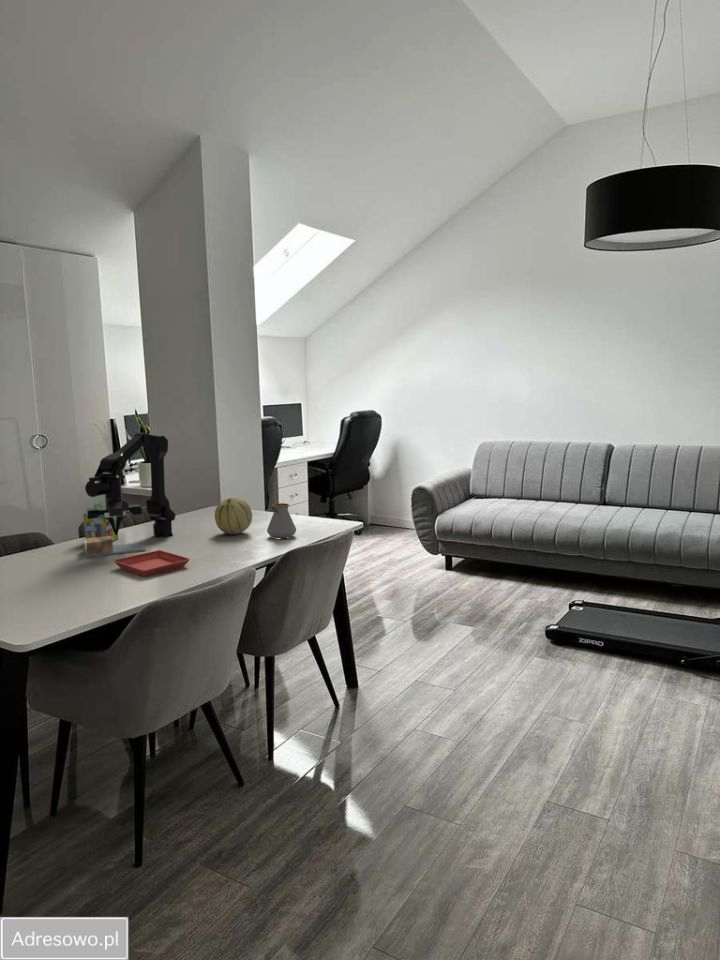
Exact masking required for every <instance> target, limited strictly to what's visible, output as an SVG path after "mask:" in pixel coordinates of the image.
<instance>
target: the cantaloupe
mask: <svg viewBox="0 0 720 960" xmlns="http://www.w3.org/2000/svg"><path fill="white" fill-rule="evenodd" d="M214 520H215V521H214V522H215V524H216V526H217V528H218V529H219V530H220V531H221V532H222V533H225V534H228V535H239V534H241V533H244V532H245V531H246V530H248V529H249V527H250V525H251V523H252V521H253V513H252V508H251V507H250V505H249V503H248V502H246V500H243V499H242V498H239V497H229V498H226V499H224V500H222V501H221V502H220V503H219V504H218V505H217V506H216V508H215V511H214Z"/></svg>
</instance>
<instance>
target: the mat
mask: <svg viewBox="0 0 720 960" xmlns="http://www.w3.org/2000/svg"><path fill="white" fill-rule="evenodd" d="M83 549H85V547H84V548H83ZM84 552H85V555H86V558H91V557H93V556H94V557H100V556H101V557H102V556H103V555H104V556H112V555H120V553H122V554H128V553H129V552H132V553H137V552H138V553H140V552H146V547H145V546H144V544H143V543H142V542H131V543H119V544H113V552H104V553H94V554H86V551H85V550H84ZM129 554H130V553H129ZM104 556H103V557H104Z"/></svg>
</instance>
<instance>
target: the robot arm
mask: <svg viewBox="0 0 720 960" xmlns="http://www.w3.org/2000/svg"><path fill="white" fill-rule="evenodd" d="M143 447H144V448H145V452H146V455H148V457H149V458H150V482H151V483H150V485H151V486H150V487H151V495H150V497H149V499H146V501H145V503H146V509H145V510H146V513H147V515H148V516H149V519H150V521H153V523H152V534H153V535H154V536H155V537H156V538H162V537H163V536H164V537H173V535H174V534H173V529H172V528H173V526H172V522H173V521H174V520H175V519H176V513H175V512H174V511H173V510H172V509H171V505H170V501H169V499H168V497H167V496H166V491H165V490H166V489H165V487H166V485H165V457H166V455H167V453H168V449H169V440H168V438H167V437H166V436H164V435H153V434H150V433H147V432H137V433H135V434H134V435H133V437H132V438H130V439H129V440H128V441H127V442H126V443H125V444H124V445H123V446H121V447H120V448H119V449H118V450H117V451H115V452H113V453H110V454H107V455H106V456H105V457H103V458H101V460H100V462H99V464H98V468H97V469H96V472H95V473H94V475H93V476H92V477H88V481H87V482H86V484H85V487H84V490H85V492H86V495H87V496H89V497H90V498H95V497H98V496H103V495H104V499H105V502H104V503H105V509H103V510H100V509H99V508H98V507H97V508H95V507H90V508H89V507H88V508H87V509H86V513H87V518H88V519H92V518H98V517H99V515H104V519H108V521H109V522H110V524H111V526H112V529H113V531H114V533H115V535H117V534H118V535H119V529H120V526H121V523H122V521H123V519H125V518H127V515H126V514H127V513H128V514H132V515H135V516H136V515H142V514H143V507H142V506H141V505H140V504H138V503H136V504H129V501H128V500H124V501H123V495H122V494H123V493H122V479H123V480H124V479H125V478H126V477H125V475H124V474H122V472H123V471H124V469H125V467H127V462H128V461H129V459H130V458H132V457H133V456H134V455H135V454H136V453H138V451H139V450H140V449H141V448H143ZM130 460H131V459H130ZM113 516H116V529H115V524H114V518H113ZM164 537H163V538H164Z"/></svg>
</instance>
